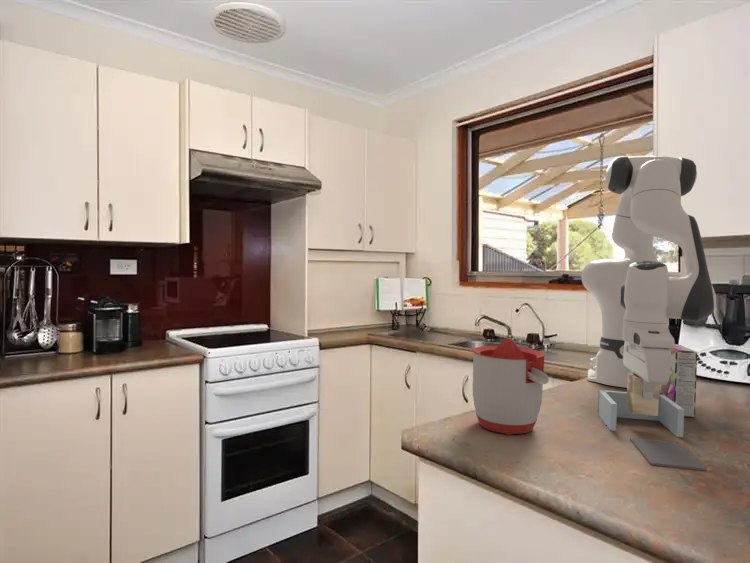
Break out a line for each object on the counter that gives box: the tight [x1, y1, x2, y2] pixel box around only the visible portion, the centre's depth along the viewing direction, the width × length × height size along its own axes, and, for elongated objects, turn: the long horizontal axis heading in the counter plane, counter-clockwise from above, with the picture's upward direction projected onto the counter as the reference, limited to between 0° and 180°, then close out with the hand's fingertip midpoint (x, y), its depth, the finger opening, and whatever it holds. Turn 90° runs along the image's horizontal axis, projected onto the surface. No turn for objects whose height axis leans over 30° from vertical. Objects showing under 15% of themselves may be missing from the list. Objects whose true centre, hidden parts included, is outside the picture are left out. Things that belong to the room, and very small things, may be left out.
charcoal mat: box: [629, 437, 707, 472], centre depth 92 cm, size 13×9×1 cm
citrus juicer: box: [472, 337, 549, 436], centre depth 105 cm, size 16×17×20 cm
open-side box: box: [597, 389, 685, 438], centre depth 109 cm, size 12×14×6 cm
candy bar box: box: [659, 343, 698, 418], centre depth 120 cm, size 11×5×16 cm, turn 168°
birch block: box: [626, 373, 659, 416], centre depth 106 cm, size 5×5×8 cm
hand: (642, 395), depth 106 cm, fingers closed on birch block, 5 cm apart
